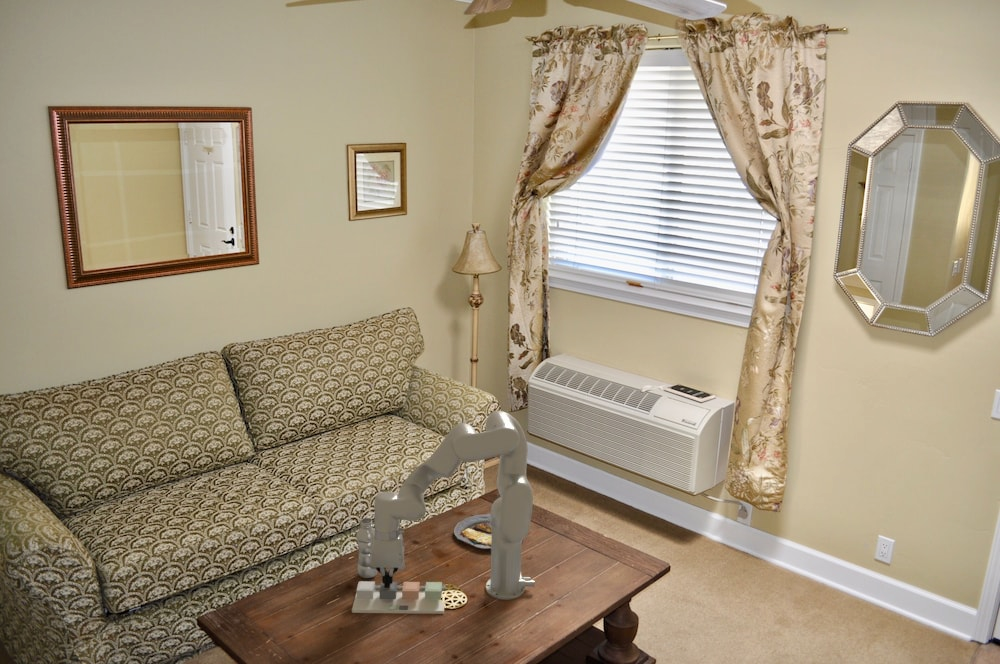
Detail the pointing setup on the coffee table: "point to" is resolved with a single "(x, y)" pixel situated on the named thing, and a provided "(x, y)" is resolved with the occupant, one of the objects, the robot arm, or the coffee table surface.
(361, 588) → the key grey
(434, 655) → the coffee table surface
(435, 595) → the key sage
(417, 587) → the key terracotta
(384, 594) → the key charcoal
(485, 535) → the food plate
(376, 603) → the keyboard base
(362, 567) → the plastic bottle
